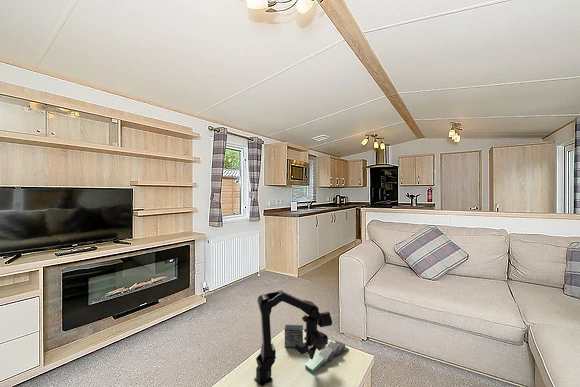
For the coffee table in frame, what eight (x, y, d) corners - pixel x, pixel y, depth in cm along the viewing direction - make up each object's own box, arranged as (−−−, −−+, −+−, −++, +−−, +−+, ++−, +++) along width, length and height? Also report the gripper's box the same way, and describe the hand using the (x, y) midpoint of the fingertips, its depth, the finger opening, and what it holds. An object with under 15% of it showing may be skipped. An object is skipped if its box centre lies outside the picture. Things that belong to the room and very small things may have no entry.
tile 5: (338, 355, 141) (348, 348, 147) (331, 350, 145) (341, 344, 151) (338, 358, 141) (348, 352, 147) (331, 353, 145) (341, 347, 151)
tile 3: (329, 358, 137) (338, 344, 142) (321, 353, 140) (330, 340, 146) (330, 361, 137) (339, 347, 143) (322, 356, 141) (331, 343, 147)
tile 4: (336, 351, 141) (345, 343, 147) (328, 348, 144) (336, 340, 151) (337, 355, 141) (345, 347, 147) (328, 351, 144) (337, 344, 151)
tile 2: (323, 363, 133) (333, 349, 139) (315, 358, 137) (325, 345, 143) (324, 365, 133) (334, 352, 139) (316, 360, 137) (326, 347, 143)
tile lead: (312, 370, 128) (324, 358, 133) (304, 364, 132) (316, 353, 138) (313, 373, 128) (324, 361, 134) (305, 367, 132) (317, 356, 138)
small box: (303, 342, 155) (303, 324, 155) (302, 348, 148) (302, 330, 148) (285, 341, 156) (285, 323, 156) (284, 347, 149) (284, 329, 149)
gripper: (309, 342, 119) (309, 375, 119) (335, 328, 131) (335, 359, 131) (293, 332, 127) (293, 363, 127) (319, 320, 140) (319, 349, 140)
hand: (311, 359), depth 131 cm, fingers closed
